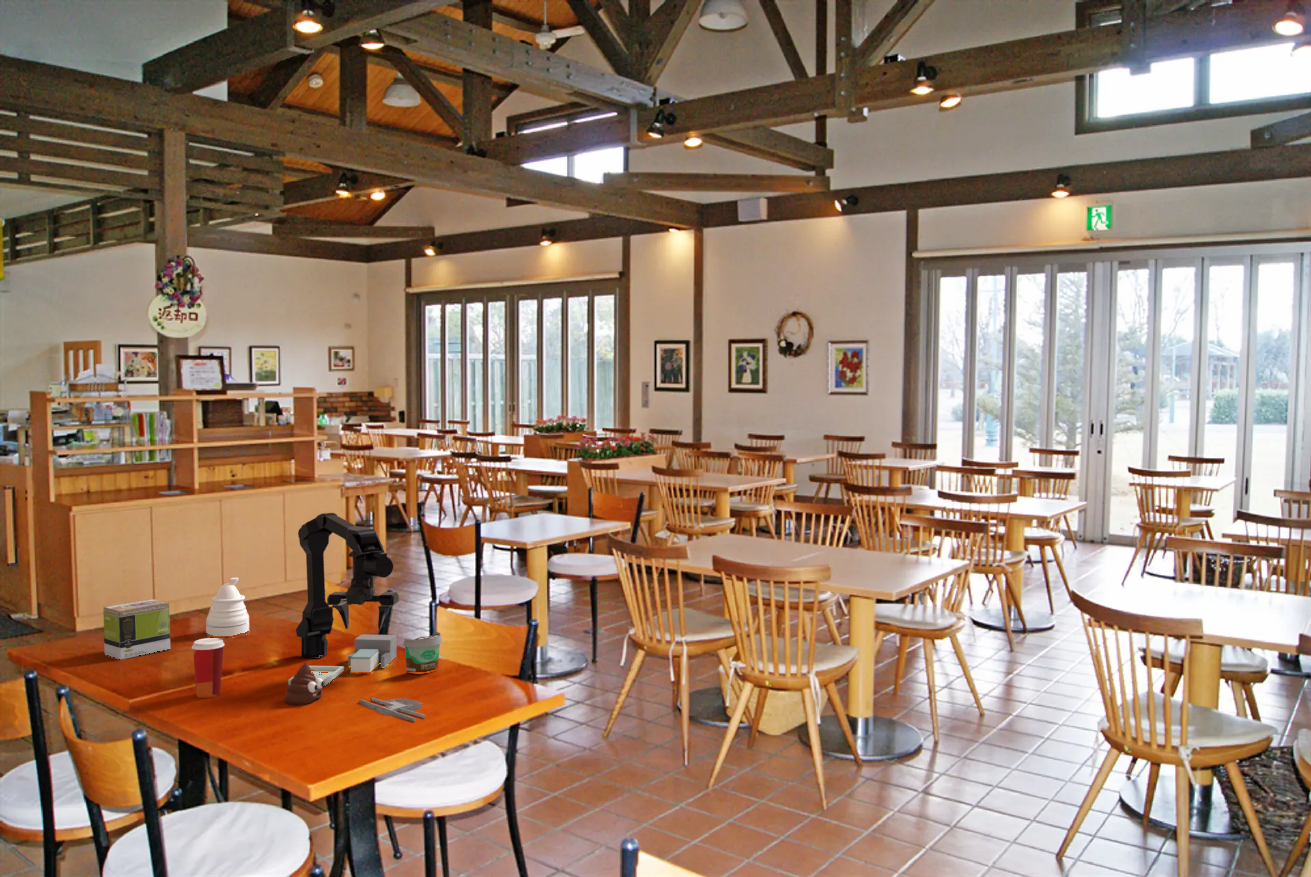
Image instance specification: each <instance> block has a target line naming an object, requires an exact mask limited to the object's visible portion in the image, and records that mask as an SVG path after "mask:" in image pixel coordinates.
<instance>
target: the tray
mask: <svg viewBox="0 0 1311 877" xmlns="http://www.w3.org/2000/svg"><path fill="white" fill-rule="evenodd" d="M309 667H310V669H311V670H314V671H311V672H313V674H314V676H315V677H316V679H317V678H321V679H322V680H323V682H324V685H325V686H326V685H327V684H328V683H329V684H331V683H332V682H333V681H334V680H333V679H335V678H336V677H337V676H338V675H339V674H341V673H342V672H343V671H344V672H345V666H339V665H338V666H337V665H309ZM319 672H320V673H319ZM321 672H328V673H321ZM319 674H320V675H319ZM321 674H322V675H321ZM342 674H343V673H342ZM342 674H341V675H342ZM338 677H339V676H338ZM338 677H337V678H338ZM293 678H294V675H293V676H292V677H290V678H289V679H288V680H287V682H288V683H287V686H288V685H290V684H291V680H292V679H293ZM337 678H336V679H337ZM336 679H335V680H336ZM332 680H333V681H332ZM331 681H332V682H331ZM330 682H331V683H330ZM329 684H328V685H329ZM328 685H327V686H328ZM327 686H326V687H327Z"/></svg>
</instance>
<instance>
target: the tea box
mask: <svg viewBox="0 0 1311 877" xmlns="http://www.w3.org/2000/svg"><path fill="white" fill-rule="evenodd" d="M170 620H171V616H170V602H166V601H161V600H158V599H154V598H150V599H145V600H139V601H132V602H126V603H121V604H114V605H108V606H104V607H103V643H104V644H103V645H104V646H103V647H104V648H103V649H104V655H105V656H107V655H109V656H108V657H110V656H111V657H110V658H113V657H115V658H114V659H116V660H119V659H120V661H121V660H127V659H130V658H131V659H132V658H136V657H140V656H139V655H141V656H145V654H146V655H149V653H150V654H154V652H155V653H158V652H157V651H160V652H164V651H163V650H165V651H168V650H167V649H170V650H171V624H170V622H171V621H170Z"/></svg>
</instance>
